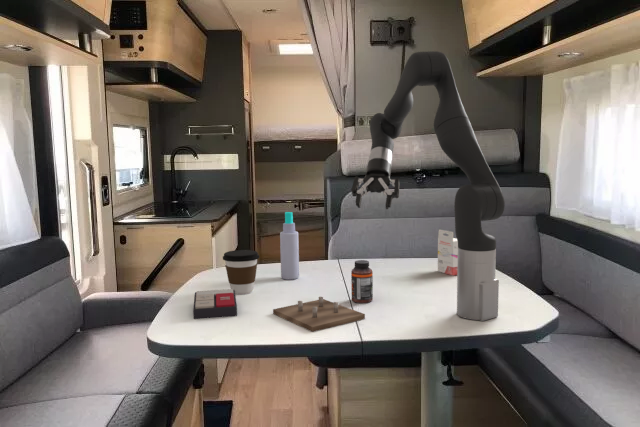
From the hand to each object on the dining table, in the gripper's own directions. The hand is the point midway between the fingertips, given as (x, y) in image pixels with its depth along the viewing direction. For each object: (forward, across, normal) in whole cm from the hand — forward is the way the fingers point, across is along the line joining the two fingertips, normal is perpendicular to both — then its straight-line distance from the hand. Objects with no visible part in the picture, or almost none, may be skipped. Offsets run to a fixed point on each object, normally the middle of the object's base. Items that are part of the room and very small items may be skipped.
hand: (372, 207), depth 162 cm
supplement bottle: (+28, 0, +7) cm, 28 cm away
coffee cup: (+27, -37, +9) cm, 47 cm away
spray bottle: (+14, -29, +24) cm, 40 cm away
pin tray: (+38, -8, -5) cm, 40 cm away
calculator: (+40, -37, -4) cm, 54 cm away
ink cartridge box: (0, +23, +37) cm, 44 cm away
